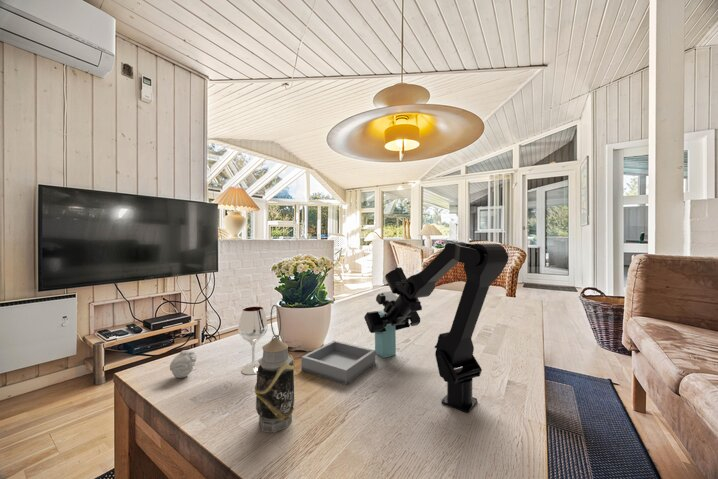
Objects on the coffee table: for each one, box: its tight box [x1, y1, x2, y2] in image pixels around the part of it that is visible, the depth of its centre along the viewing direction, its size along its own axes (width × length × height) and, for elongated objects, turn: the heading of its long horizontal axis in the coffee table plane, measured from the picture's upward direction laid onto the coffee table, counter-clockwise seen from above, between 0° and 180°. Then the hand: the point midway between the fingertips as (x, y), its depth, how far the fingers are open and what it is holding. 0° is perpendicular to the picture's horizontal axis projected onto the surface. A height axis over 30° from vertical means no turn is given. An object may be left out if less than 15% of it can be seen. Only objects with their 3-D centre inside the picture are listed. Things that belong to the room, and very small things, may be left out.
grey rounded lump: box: [169, 349, 197, 379], centre depth 82 cm, size 6×7×7 cm
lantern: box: [254, 304, 296, 433], centre depth 62 cm, size 9×8×25 cm
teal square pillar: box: [374, 309, 397, 359], centre depth 99 cm, size 5×5×14 cm
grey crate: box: [300, 340, 376, 386], centre depth 89 cm, size 16×16×4 cm
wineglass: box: [237, 306, 269, 376], centre depth 87 cm, size 8×8×18 cm
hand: (383, 331), depth 100 cm, fingers closed on teal square pillar, 5 cm apart
